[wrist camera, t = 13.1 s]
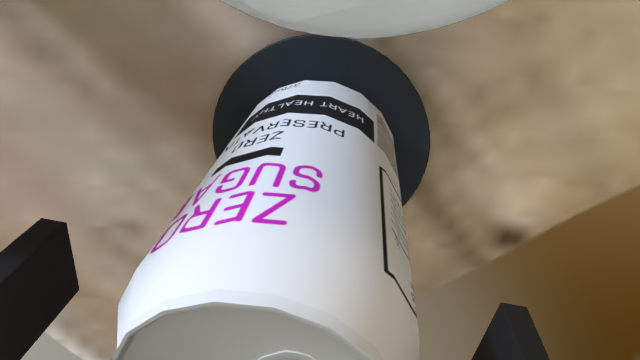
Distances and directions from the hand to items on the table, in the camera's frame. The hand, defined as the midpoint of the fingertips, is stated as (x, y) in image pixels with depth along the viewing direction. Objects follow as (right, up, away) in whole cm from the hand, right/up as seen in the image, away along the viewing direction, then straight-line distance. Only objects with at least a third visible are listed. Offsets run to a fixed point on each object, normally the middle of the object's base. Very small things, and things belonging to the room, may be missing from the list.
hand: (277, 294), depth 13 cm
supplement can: (+1, +5, +10) cm, 12 cm away
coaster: (+1, +5, +11) cm, 12 cm away
